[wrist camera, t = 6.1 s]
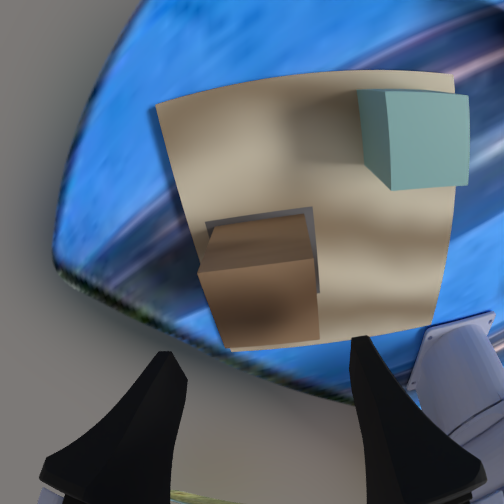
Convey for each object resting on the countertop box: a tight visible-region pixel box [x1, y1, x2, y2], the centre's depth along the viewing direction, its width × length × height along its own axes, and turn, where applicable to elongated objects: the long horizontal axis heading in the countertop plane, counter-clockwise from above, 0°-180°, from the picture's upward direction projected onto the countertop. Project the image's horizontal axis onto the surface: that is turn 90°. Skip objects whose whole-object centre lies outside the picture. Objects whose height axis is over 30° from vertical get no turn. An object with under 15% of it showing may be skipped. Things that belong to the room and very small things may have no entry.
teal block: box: [356, 89, 470, 191], centre depth 11 cm, size 4×4×4 cm
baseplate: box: [155, 70, 456, 352], centre depth 17 cm, size 18×16×1 cm
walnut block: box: [197, 214, 320, 348], centre depth 16 cm, size 5×5×4 cm
